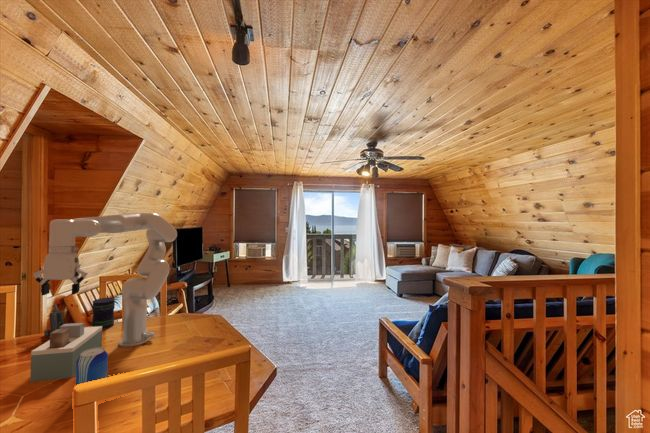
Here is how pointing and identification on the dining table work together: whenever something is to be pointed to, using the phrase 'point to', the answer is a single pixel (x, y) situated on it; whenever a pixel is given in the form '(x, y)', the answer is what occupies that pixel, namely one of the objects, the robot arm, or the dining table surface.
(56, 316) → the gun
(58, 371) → the toolbox
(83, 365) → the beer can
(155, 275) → the robot arm
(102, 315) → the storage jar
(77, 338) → the lid
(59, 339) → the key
